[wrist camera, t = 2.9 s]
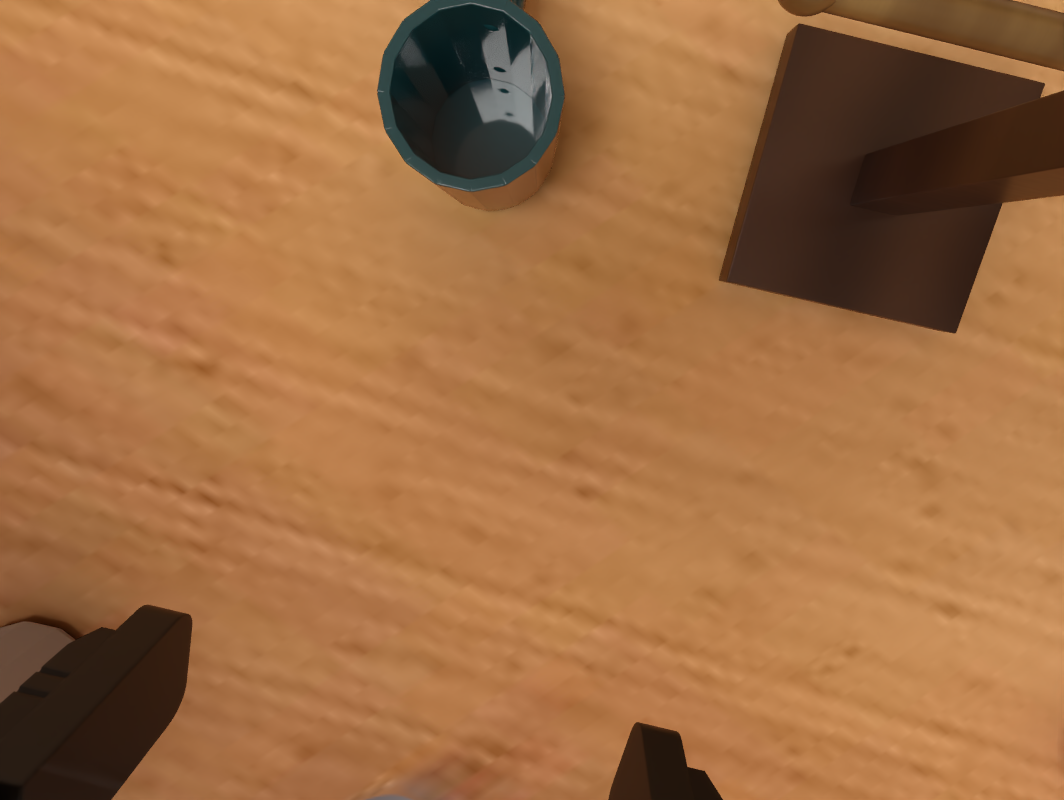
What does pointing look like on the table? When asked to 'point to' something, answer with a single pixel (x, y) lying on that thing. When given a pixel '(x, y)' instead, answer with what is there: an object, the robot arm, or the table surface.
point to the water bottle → (26, 652)
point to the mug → (474, 99)
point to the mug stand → (896, 157)
